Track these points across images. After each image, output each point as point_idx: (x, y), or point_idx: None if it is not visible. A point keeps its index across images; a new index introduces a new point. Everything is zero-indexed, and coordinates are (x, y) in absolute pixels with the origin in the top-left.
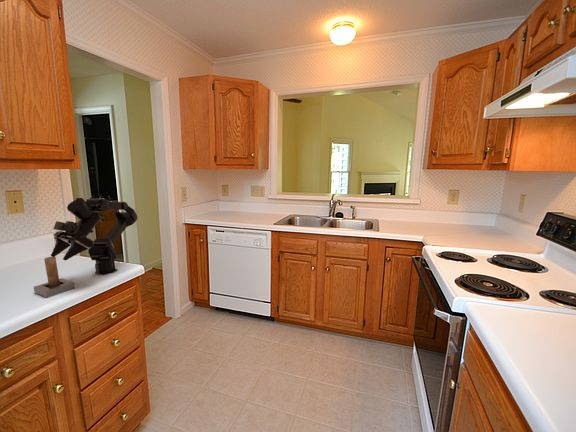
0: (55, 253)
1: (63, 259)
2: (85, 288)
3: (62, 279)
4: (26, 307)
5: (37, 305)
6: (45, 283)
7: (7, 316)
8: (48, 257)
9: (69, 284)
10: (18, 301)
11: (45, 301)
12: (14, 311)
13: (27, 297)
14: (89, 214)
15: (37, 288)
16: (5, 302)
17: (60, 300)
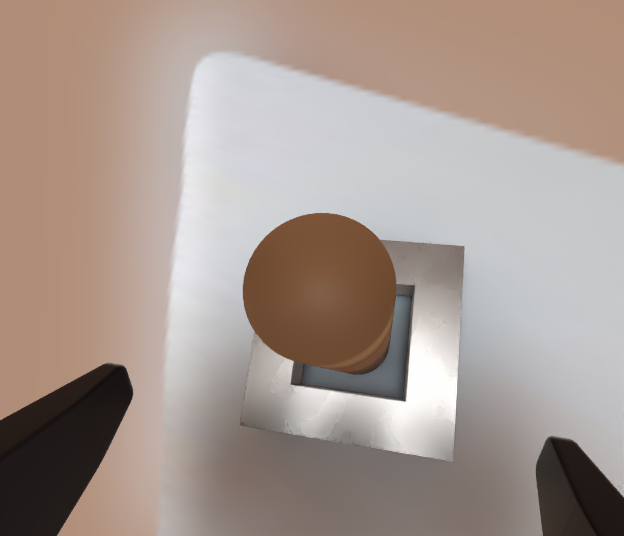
0: (561, 531)
1: (113, 365)
2: (187, 449)
3: (409, 438)
4: (270, 145)
5: (237, 180)
6: (451, 322)
7: (253, 68)
8: (370, 291)
9: (249, 389)
10: (410, 162)
11: (247, 223)
12: (280, 101)
13: (426, 211)
14: None
15: (393, 241)
16: (473, 126)
17: (173, 263)
